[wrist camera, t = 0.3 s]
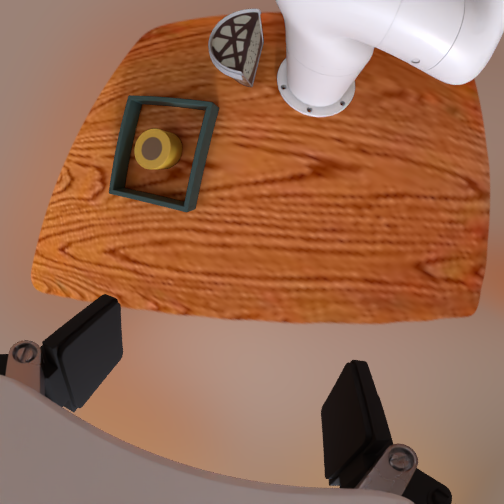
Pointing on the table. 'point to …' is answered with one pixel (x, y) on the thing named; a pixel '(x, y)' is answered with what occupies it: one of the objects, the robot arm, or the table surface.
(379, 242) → the table surface
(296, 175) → the table surface
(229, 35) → the food container
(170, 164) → the tape roll
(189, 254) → the table surface
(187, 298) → the table surface
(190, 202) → the dark green rectangular frame
